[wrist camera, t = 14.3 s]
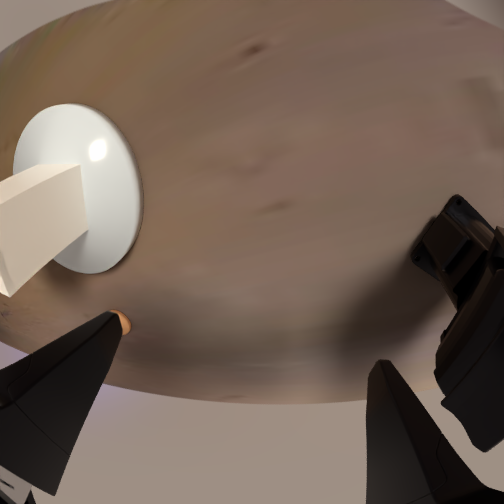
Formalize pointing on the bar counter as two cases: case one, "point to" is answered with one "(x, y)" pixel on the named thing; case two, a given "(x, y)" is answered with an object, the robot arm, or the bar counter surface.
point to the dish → (89, 180)
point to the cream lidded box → (38, 220)
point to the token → (123, 322)
